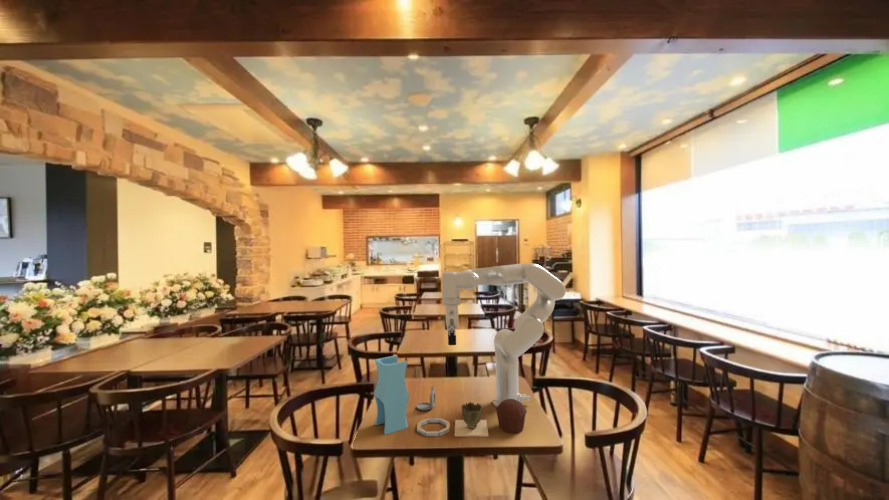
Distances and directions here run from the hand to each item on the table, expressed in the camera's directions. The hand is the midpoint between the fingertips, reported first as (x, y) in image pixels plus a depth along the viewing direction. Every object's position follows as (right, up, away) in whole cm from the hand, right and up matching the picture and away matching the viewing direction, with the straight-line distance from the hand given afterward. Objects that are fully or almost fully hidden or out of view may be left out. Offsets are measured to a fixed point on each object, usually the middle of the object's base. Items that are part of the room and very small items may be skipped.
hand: (451, 342), depth 164 cm
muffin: (+22, -28, -19) cm, 40 cm away
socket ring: (-7, -28, -18) cm, 34 cm away
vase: (-23, -29, -15) cm, 40 cm away
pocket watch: (-10, -28, 0) cm, 30 cm away
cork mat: (+7, -28, -19) cm, 34 cm away
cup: (+7, -27, -19) cm, 34 cm away
